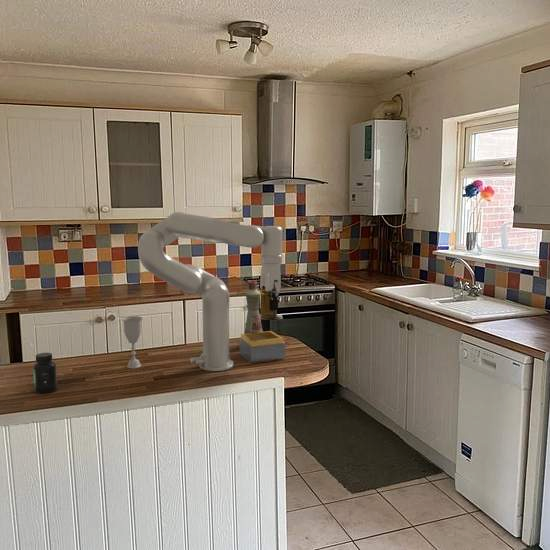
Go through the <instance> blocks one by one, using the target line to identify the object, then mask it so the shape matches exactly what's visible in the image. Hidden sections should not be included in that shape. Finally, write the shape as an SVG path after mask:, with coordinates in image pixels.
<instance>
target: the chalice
mask: <svg viewBox="0 0 550 550" xmlns="http://www.w3.org/2000/svg"><path fill="white" fill-rule="evenodd" d="M121 320H122V322H123V332H124V336H125V338H126V339H127V341H128V343H130V344H131V348H130V349H131V353H130V354H131V359H129V361H128V363H127V365H126V367H127V369H137V368H141V366H142V365H141V362H140V360H139V359H138V358H136V354H137V353H136V351H135V350H136V349H137V348H136V347H135V345H136V343H137V342H138V341H139V339H140V336H141V334H142V320H143V317H141V316H137V315H135V316H132V315H131V316H130V315H129V316H125V317H122V319H121Z"/></svg>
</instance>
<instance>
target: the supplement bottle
mask: <svg viewBox="0 0 550 550" xmlns="http://www.w3.org/2000/svg"><path fill="white" fill-rule="evenodd" d="M32 371H33V373H32V374H33V388H34V392H35V393H36V394H39V395H47V394H50V393H53V392H56V391H57V390H58V376H57V363H56V362H55V361H53V354H52V353H51V352H40V353H37V354H36V355H35V363H34V364H33V366H32Z"/></svg>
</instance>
